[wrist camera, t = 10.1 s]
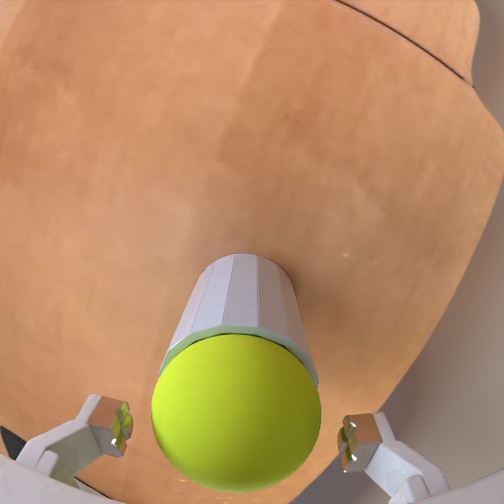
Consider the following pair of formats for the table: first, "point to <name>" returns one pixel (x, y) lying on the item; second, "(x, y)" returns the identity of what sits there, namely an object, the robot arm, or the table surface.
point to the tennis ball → (236, 413)
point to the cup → (243, 308)
